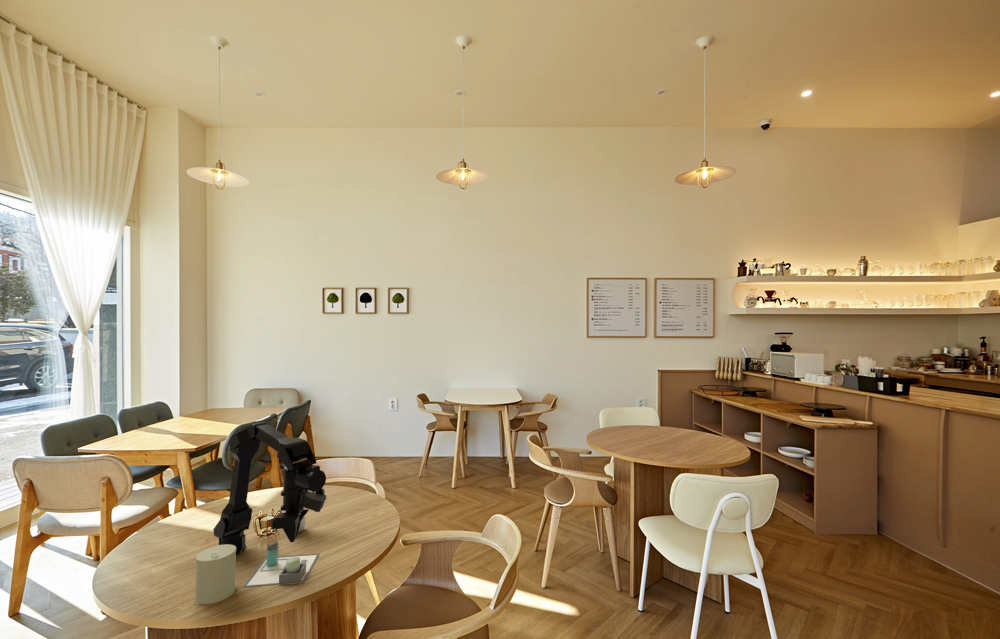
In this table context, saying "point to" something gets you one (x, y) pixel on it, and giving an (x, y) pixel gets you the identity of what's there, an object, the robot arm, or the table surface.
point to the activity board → (282, 571)
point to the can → (215, 574)
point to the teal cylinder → (272, 554)
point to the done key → (293, 565)
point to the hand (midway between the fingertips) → (293, 540)
